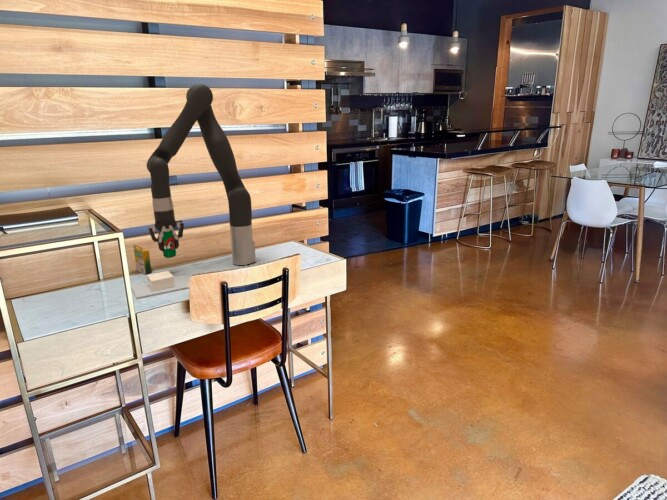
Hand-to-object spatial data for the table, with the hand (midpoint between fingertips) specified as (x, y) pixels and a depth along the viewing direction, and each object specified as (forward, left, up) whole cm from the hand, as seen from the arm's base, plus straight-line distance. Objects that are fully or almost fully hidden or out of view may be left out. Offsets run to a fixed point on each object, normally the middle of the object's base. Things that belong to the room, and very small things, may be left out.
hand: (169, 249), depth 187 cm
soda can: (0, 0, -3) cm, 3 cm away
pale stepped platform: (+7, +14, -10) cm, 19 cm away
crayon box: (+9, -8, -11) cm, 16 cm away
